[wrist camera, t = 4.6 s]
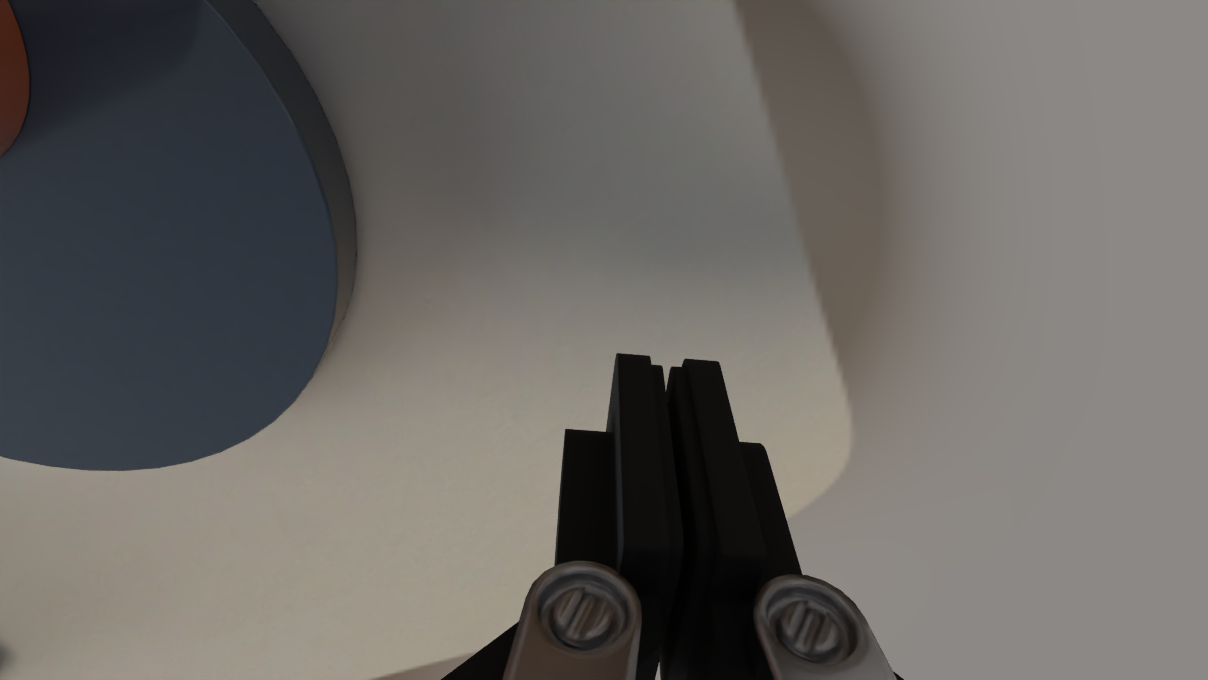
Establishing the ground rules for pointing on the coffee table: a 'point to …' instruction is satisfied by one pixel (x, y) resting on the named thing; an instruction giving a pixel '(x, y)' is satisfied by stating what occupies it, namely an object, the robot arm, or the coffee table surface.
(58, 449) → the plate
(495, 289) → the coffee table surface
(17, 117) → the glossy orange cylinder
